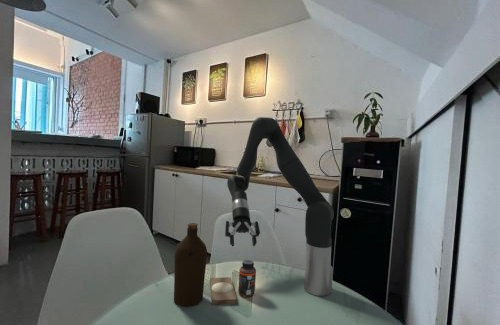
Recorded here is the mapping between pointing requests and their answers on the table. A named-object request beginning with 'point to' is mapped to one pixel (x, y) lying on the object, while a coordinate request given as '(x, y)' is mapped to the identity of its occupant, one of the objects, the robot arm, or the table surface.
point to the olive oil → (189, 269)
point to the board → (222, 291)
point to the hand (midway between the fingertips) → (243, 245)
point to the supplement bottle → (247, 279)
